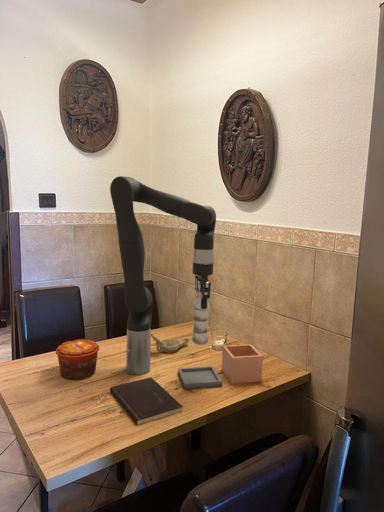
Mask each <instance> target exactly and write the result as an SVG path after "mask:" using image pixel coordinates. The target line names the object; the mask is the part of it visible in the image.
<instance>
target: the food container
mask: <svg viewBox="0 0 384 512" xmlns="http://www.w3.org/2000/svg"><path fill="white" fill-rule="evenodd" d="M99 351H100V345H99V344H98V343H96V341H93V340H91V339H87V340H86V339H75V340H72V341H71V340H68V341H65V342H63V343H61V344H59V345H58V347H57V348H56V350H55V353H56V355H57V360H58V365H59V370H60V376H61V377H62V378H63V379H64V380H67V381H79V380H84V379H88V378H91V377H92V376H94V375H95V373H96V370H97V363H98V362H97V361H98V354H99Z"/></svg>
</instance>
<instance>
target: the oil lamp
mask: <svg viewBox="0 0 384 512" xmlns="http://www.w3.org/2000/svg"><path fill="white" fill-rule="evenodd" d="M151 337H152V339H153V341H155V346H156V351H157V352H159V353H161V352H164V353H169V352H171V353H174V352H176V351H177V350H178V349H179V348H180V347H182V346H184V345H186V344H188V343H189V341H190V339H189V338H180V339H173V338H169V339H168V338H167V339H163V340H162V341H161V339H159V338H158V337H156V336H155V335H154V334H153V333H151Z"/></svg>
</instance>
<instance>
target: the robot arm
mask: <svg viewBox="0 0 384 512" xmlns="http://www.w3.org/2000/svg"><path fill="white" fill-rule="evenodd" d="M109 193H110V196H111V202H112V207H113V211H114V214H115V215H114V216H115V222H116V229H117V236H118V237H117V238H118V246H119V247H118V248H119V255H120V260H121V269H122V273H123V279H124V280H123V281H124V303H125V306H126V308H127V309H126V310H128V318H127V321H126V346H125V347H126V348H125V349H126V351H125V352H126V355H125V356H126V359H125V360H126V374H131V375H145V374H148V373H149V372H150V370H151V346H152V345H151V337H152V336H151V334H152V332H151V328H152V327H151V326H152V320H153V294H152V292H151V290H150V289H149V287H146V286H145V281H144V280H145V279H144V268H145V260H146V259H145V258H146V253H145V252H146V251H145V243H144V241H145V240H144V236H143V233H142V230H141V228H140V225H139V222H138V221H137V219H136V216H135V211H134V210H135V209H134V202H135V203H141V204H146V205H149V206H152V207H154V208H156V209H157V210H159V211H161V212H163V213H166V214H168V215H172V216H174V217H177V218H180V219H185V220H186V221H188V222H190V223H193V224H195V225H196V233H195V235H194V237H193V238H194V239H193V253H192V274H193V275H194V291H195V293H196V294H197V291H199V292H200V293H201V309H207V300H209V299H210V298H211V286H212V285H211V281H210V280H209V276H212V275H213V274H214V261H215V260H214V259H215V258H214V256H215V255H214V244H215V243H214V242H215V241H214V240H215V238H214V237H215V236H214V235H215V229H216V220H217V215H216V214H217V212H216V211H215V209H214V207H212V206H210V205H203V204H200V203H195V202H193V201H190V200H189V199H187V198H184V197H180V196H177V195H175V194H172V193H169V192H168V193H167V192H164V191H160V190H159V189H156V188H152V187H150V186H147V185H146V184H144V183H142V182H141V181H138V180H136V179H135V178H133V177H131V176H117V177H114V178H113V180H112V181H111V182H110V186H109ZM205 293H206V295H205ZM196 299H197V295H196ZM196 299H195V300H196Z"/></svg>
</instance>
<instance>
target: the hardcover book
mask: <svg viewBox="0 0 384 512" xmlns="http://www.w3.org/2000/svg"><path fill="white" fill-rule="evenodd" d="M109 392H110V394H111V395H112V397H114V399H115V400H116V401H117V403H118V404H119V405H120V406H121V408H122V409H123V410H124V412H126V414H127V415H128V416H129V418H130V419H131V421H132V422H133V423H134V424H135V425H136V426H138V425H141V424H144V423H148V422H151V421H154V420H157V419H160V418H163V417H166V416H170V415H173V414H176V413H180V412H182V408H183V407H184V406H183V405H182V404H181V403H180V402H179V401H178V400H176V399H175V398H174V397H173V396H172V395H171V394H170V393H169V392H168V391H167V390H165V388H163V387H162V386H161V385H160V383H158V382H157V381H156V380H155V379H154V378H153V377H152V376H149V377H146V378H143V379H142V378H141V379H138V380H134V381H130V382H129V381H128V382H126V383H121V384H117V385H113V386H112V385H111V387H109Z"/></svg>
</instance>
